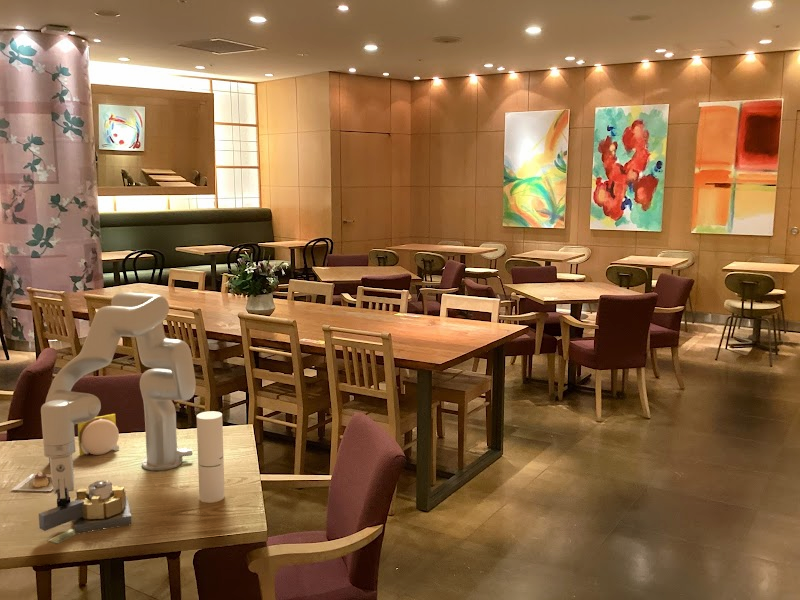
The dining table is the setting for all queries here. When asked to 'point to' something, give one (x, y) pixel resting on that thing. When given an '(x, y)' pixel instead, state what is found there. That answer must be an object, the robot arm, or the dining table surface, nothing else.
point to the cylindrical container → (210, 456)
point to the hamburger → (98, 435)
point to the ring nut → (84, 508)
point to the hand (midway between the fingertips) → (64, 512)
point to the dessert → (35, 481)
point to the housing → (94, 524)
